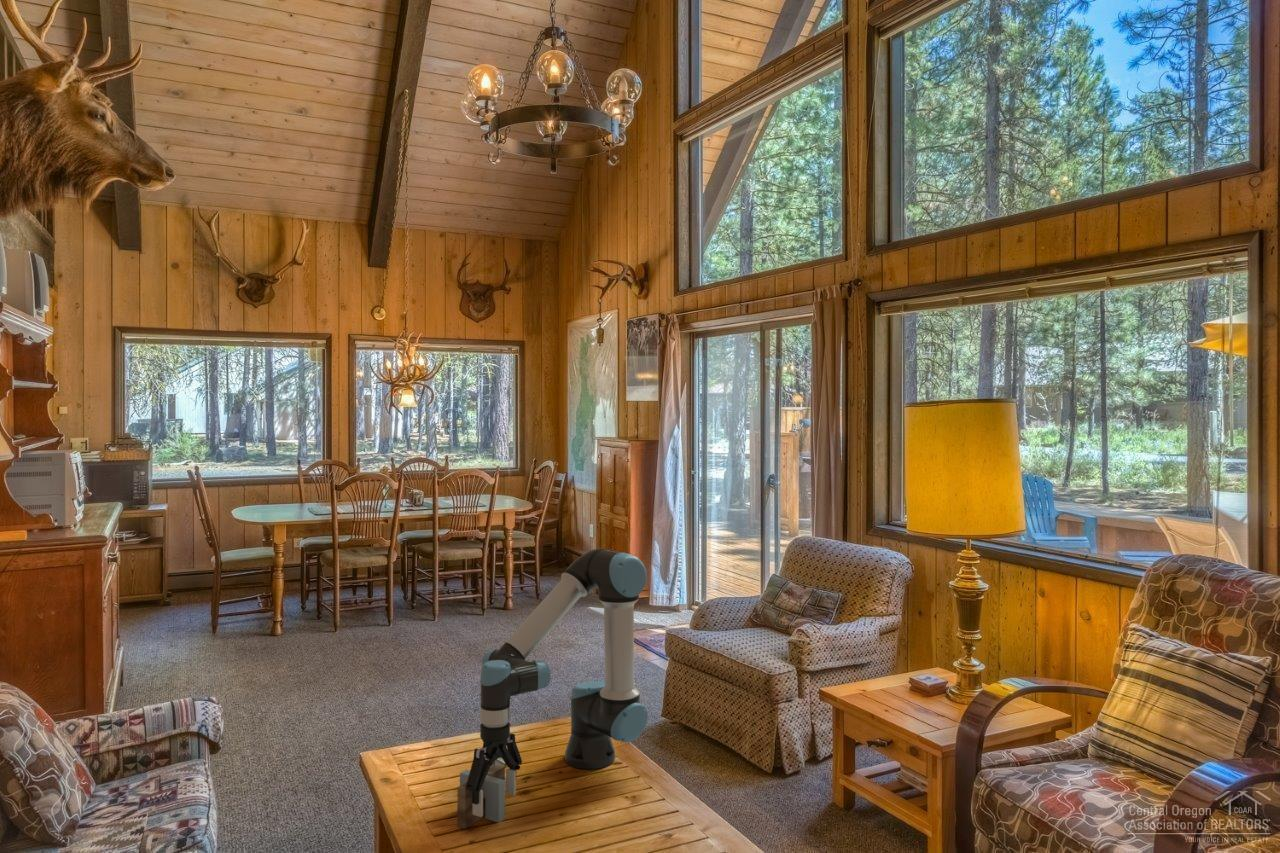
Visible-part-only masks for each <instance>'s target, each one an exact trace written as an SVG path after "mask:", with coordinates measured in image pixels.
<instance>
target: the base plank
mask: <svg viewBox="0 0 1280 853" xmlns="http://www.w3.org/2000/svg"><path fill="white" fill-rule="evenodd" d="M487 775H488V776H492V777H495V778H499V779H502V780H505V781H506V767H505V766H502V765H498V764H497V765H496V766H494V767H492V768H490V769H489V771H488V773H487ZM466 784H467V782H466V783H464V784H462V785H461V786H460V785H459V786H458V787H457V804H456V805H457V806H456V807H457V810H456V812H457V816H456V817H457V819H456V821H457V822H456V823H457V825H456V827H457V828H461V829H463V830H464V829H467V828H469V827H470V826H472V825H473V824H475V823H476V822H478V821H479V820H481V819H483V818H484V817H485V798H483V816H482V817H479V816H476V815H473V803H472V791H468V790H466ZM477 786H478V784H477Z"/></svg>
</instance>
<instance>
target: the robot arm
mask: <svg viewBox="0 0 1280 853" xmlns="http://www.w3.org/2000/svg"><path fill="white" fill-rule="evenodd" d="M647 574H648V573H647V569H646V567H645V565H644V563H643V562H642V560H641V559H640V558H639V557H637V556H635V555H634V554H630V553H626V552H621V551H615V550H610V549H606V548H596V549H595V548H594V549H591V550H589V551H587V552H585V553H583V554H582V555H580V556H579V557H578V558H576V559H575V560H574V561H573V562H572V563H571V564H570V565H569V566H568V567H566V569H565V570H563V572H562V573H561V574H560V576H561V578H560V581H558V583H557V584H556V585H555V586H554V588H552V589H551V591H550V592H549V593H548V594H547V595H546V596H545V598H543V600H542V601H541V602H540V603H539V604H538V605H537V606H536V608H535V609H534V610H533V611H532V612H530V614H529V615H528V616H527V618H526V619H525V620H524V621H523V622H522V623H521V624H520V626H518V628H516V629H515V631H514V632H513V633H512V634H511V636H510V637H509V638H507V639H506V641H505V642H504V644H502V645H501V646H500V647H499V648H492V649H490V650H488V651H487V652H486V653H485V654H484V656H483V658H482V660H481V670H480V680H479V684H480V723H481V724H480V729H479V730H480V733H479V735H480V739H481V741H482V742H483V745H482V748H474V750H473V760H472V763H471V767H470V773H469V777H468V781H467V784H466V790H468V791H472V803H473V815H476V816H479V817H482V816H483V790H481V788H482V785H483V783H484V780H485V778H486V775H487V773H488V771H489V768H490V766H491V765H493V763H494V761H495V760H497V759H498V758H502V759H503V761H504V762H505V763H506V765H507V766H506V767H508V768H505V795H509V796H512V797H514V796H516V794H517V793H516V792H517V790H516V789H517V785H516V784H517V783H516V782H517V770H518V771H519V770H521V765H522V763H523V760H522V757H521V754H520V751H519V748H518V744H517V742H516V735H515V733H511V724H510V720H511V697H514V696H519V695H522V694H527V693H531V692H536V691H540V690H542V689H546V688H547V687H548V686H549V685H550V683H551V676H552V675H551V674H552V672H551V669H550V666H549V664H548V663H547V662H546V661H545V660H543V659H538V660H536V659H534V660H532V661H528V660H527V659H528V658H529V656H531V654H532V653H533V652H534V651H535V650H536V648H538V646H539V645H540V644H541V643H542V642H543V640H544V639H545V638H546V637H547V636H548V635H549V634H550V632H551V631H552V630H553V629H554V628H555V627H556V625H558V623H559V622H560V621H561V620H562V619H563V617H564V616H566V615H567V613H568V612H569V610H570V609H571V608H572V607H573V606H574V605H575V604H576V603H577V602H578V601H579V599H580V598H581V597H582V598H584V597H587V595H588V594H589V593H590V592H591V591H592V590H594V589H598V601H599V602H600V603H601V604H602V605H603V616H604V617H603V622H604V623H603V628H604V630H603V632H604V633H603V634H604V636H603V637H604V639H603V640H604V641H603V642H604V643H603V644H604V648H603V649H604V680H588V681H582V682H579V683H576V684H575V685H573V687H572V689H571V697H570V730H571V731H570V736H569V740H568V742H567V746H566V749H565V751H564V760H565V762H566V764H567V765H568V766H571V767H573V768H577V769H581V770H596V769H597V770H599V769H601V768H605V767H608V766H610V765H612V764H613V763H614V762H615V760H616V751H615V747H614V744H613V741H612V740H614V741H618V742H621V743H631V742H634V741H635V740H636V739H638V738H639V737H640V736H641V735H642V734H643V732H644V731H645V729H646V727H647V724H648V719H649V717H648V716H649V713H648V711H647V708H646V707H645V705H644V704H643V703H641V702H640V695H641V694H640V690H639V688H637V687H636V686H635V639H634V638H635V631H634V629H635V625H634V624H635V618H634V616H635V615H634V614H635V611H634V607H635V604H636V603H637V602H638V601H639V600H640V599H639V598H640V596H639V595H640V594H642V592H643V591H644V587H646V585H647V580H648V579H647V578H648V577H647V576H648V575H647ZM485 758H487V759H488V760H485ZM477 784H478V786H477Z"/></svg>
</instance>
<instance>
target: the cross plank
mask: <svg viewBox="0 0 1280 853" xmlns="http://www.w3.org/2000/svg"><path fill="white" fill-rule="evenodd" d="M470 770H471V769H470ZM470 770H469V769H465V770H462V771H461V772H459V786H461V785H462V784H464V783H466V782H467V781H468V777H469V773H470ZM481 790H483V798H485V816H484V817H485V819H486V820H488V821H492V822H496V823H498V824H499V823H500V822H502V821H504V820H505V819H506V779H505V780H502V779H499V778H495V777H492V776H488V775H486V778H485V780H484V783H483V785H482V788H481Z"/></svg>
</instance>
